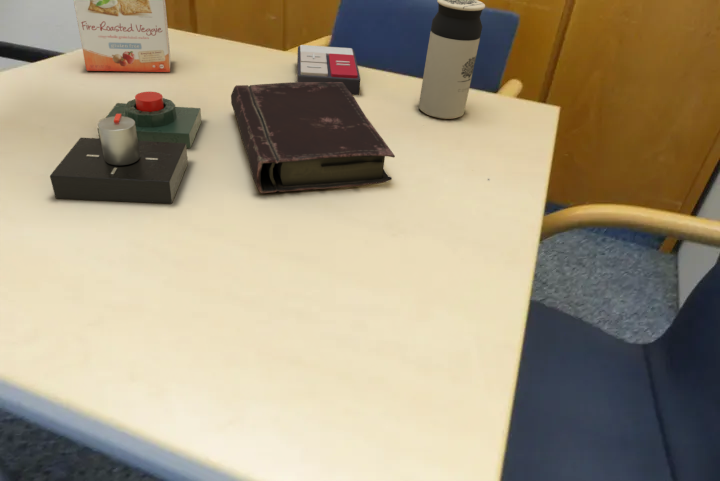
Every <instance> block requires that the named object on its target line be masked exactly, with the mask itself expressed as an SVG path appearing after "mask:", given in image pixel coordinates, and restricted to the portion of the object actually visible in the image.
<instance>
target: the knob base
mask: <svg viewBox="0 0 720 481" xmlns="http://www.w3.org/2000/svg"><path fill="white" fill-rule="evenodd" d="M138 145H139V152H140V159H139V160H138V161H136V162H135V163H132V164H129V165H121V166H119V165H111V164H109V163H107V162H106V161H105V160H104V155H103V149H102V144H101V139H99V137H96V138H95V137H79V139H78V140H77V141H76V143H75V144H74V145H73V146H72V148H70V150H69V151H68V152H67V154H66V155H65V156H64V158H63V159H62V160H61V161H60V163H58V165H57V166H56V167H55V168H54V169H53V171H52V172H51V174H50V175H49V178H50V182H51V186H52V190H53V193H54V198H55V199H56V200H57V199H59V200H81V201H82V200H83V201H101V202H102V201H103V202H104V201H106V202H124V203H125V202H127V203H147V204H149V203H151V204H169V205H170V204H171V205H172V204H173V201H174V199H175V197H176V194H177V192H178V189H179V187H180V184H181V182H182V180H183V177H184V175H185V172H186V170H187V167H188V164H189V161H188V151H187V149H188V148H186V143H170V142H152V141H138Z"/></svg>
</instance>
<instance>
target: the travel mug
mask: <svg viewBox="0 0 720 481" xmlns="http://www.w3.org/2000/svg"><path fill="white" fill-rule="evenodd" d="M436 1H437V4H438V6H437V7H438V8H437V10H438V11H437V12H436V14H435V16H434V17H433V18H432V21H431V25H430V26H431V27H430V32H429V33H430V34H429V38H428V45H427V51H426V58H425V64H424V70H423V76H422V82H421V89H420V93H419V101H418V109H419V110H420V111H421V112H422V113H424V114H425V115H427V116H430V117H432V118H436V119H442V120H450V119H451V120H453V119H457V118H461V117H463V115H464V114H465V111H466V107H467V106H466V105H467V101H468V96H469V92H470V87H471V83H472V79H473V74H474V70H475V69H474V68H475V63H476V60H477V54H478V51H479V50H478V49H479V45H480V41H481V35H482V31H483V24H482V20H481V16H482V13H483V11H484V9H486V4H485V3H484V2H482V1H480V0H436Z"/></svg>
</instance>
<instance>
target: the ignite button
mask: <svg viewBox="0 0 720 481" xmlns="http://www.w3.org/2000/svg"><path fill="white" fill-rule="evenodd" d="M163 98H164V96H163V94H161V93H160V92H156V91H142V92H138V93H137V94H135V96H134V99H135V101H136V107H137V110H140V111H146V112H153V111H159V110H161V109H164V104H163Z"/></svg>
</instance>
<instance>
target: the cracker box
mask: <svg viewBox="0 0 720 481" xmlns="http://www.w3.org/2000/svg"><path fill="white" fill-rule="evenodd" d="M73 5H74V11H75V15H76V22H77V28H78V33H79V39H80V43H81V48H82V49H81V50H82V54H83V58H84V59H83V60H84V65H85V70H86V71H87V72H141V73H143V72H144V73H147V72H149V73H150V72H152V73H171V62H172V59H171V47H170V37H169V26H168V17H167V6H166V5H167V4H166V0H73Z"/></svg>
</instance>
